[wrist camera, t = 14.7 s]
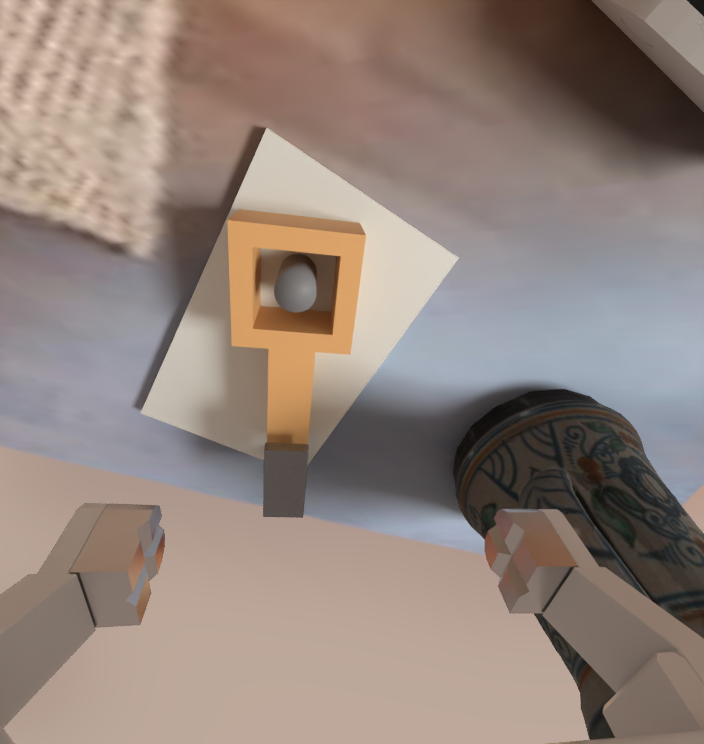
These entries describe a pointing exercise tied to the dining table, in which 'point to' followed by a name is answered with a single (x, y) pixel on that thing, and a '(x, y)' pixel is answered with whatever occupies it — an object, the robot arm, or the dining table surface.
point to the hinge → (666, 37)
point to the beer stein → (585, 507)
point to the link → (292, 329)
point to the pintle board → (243, 371)
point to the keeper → (284, 479)
